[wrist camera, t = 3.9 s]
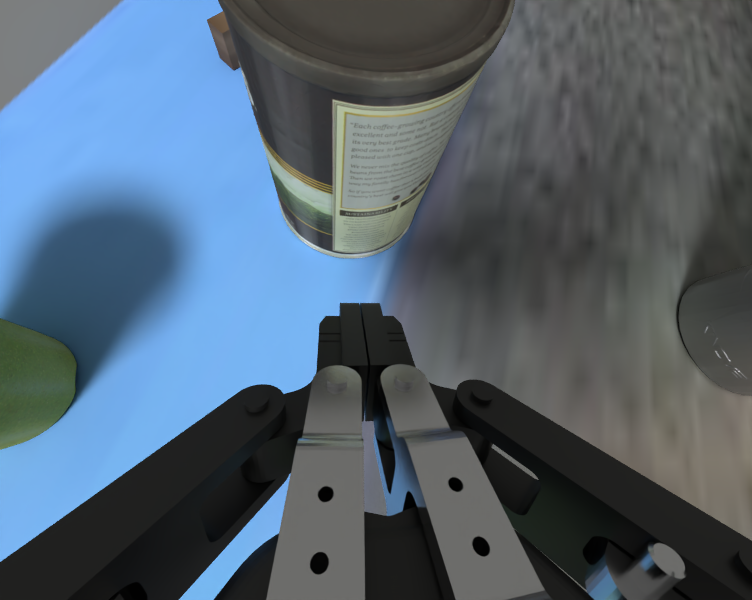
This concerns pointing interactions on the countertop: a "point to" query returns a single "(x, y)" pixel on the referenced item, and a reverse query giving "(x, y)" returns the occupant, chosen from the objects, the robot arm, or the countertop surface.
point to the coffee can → (359, 105)
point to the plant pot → (32, 382)
